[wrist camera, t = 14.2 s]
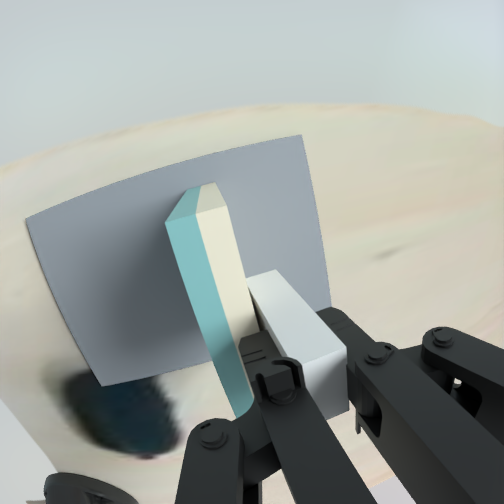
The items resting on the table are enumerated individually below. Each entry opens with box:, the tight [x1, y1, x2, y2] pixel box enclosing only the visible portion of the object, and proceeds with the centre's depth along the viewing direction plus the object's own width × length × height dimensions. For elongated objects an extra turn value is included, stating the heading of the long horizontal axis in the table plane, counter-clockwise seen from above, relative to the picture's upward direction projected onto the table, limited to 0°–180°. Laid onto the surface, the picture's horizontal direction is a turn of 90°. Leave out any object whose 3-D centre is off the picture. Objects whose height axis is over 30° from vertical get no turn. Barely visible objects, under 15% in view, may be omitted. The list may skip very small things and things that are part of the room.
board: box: [165, 182, 260, 418], centre depth 16 cm, size 2×10×12 cm, turn 13°
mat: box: [26, 135, 332, 386], centre depth 22 cm, size 22×16×1 cm
